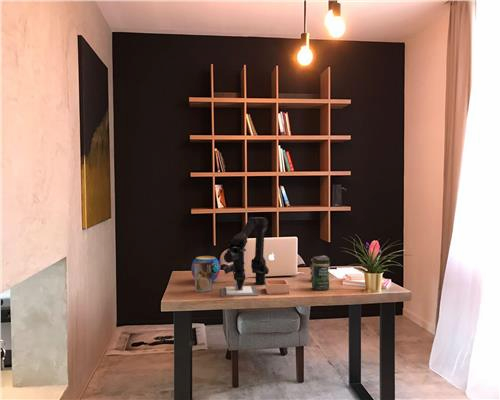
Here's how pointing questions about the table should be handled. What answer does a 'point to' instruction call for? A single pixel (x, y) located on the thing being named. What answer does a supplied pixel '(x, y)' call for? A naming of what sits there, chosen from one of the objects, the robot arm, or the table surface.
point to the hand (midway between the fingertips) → (239, 287)
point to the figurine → (313, 269)
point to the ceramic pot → (214, 265)
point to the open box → (276, 287)
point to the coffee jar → (320, 273)
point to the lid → (235, 291)
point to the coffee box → (203, 276)
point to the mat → (254, 290)
